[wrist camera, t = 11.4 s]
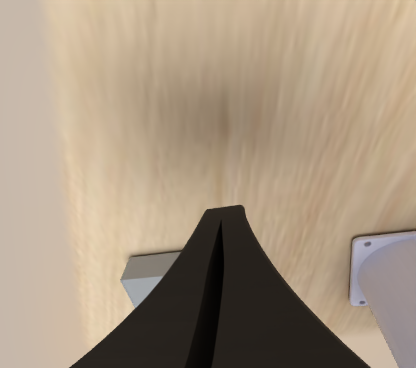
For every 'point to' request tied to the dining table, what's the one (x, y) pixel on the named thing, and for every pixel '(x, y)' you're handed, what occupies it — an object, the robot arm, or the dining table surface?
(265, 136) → the dining table surface
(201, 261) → the robot arm
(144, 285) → the socket block
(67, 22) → the dining table surface
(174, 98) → the dining table surface
